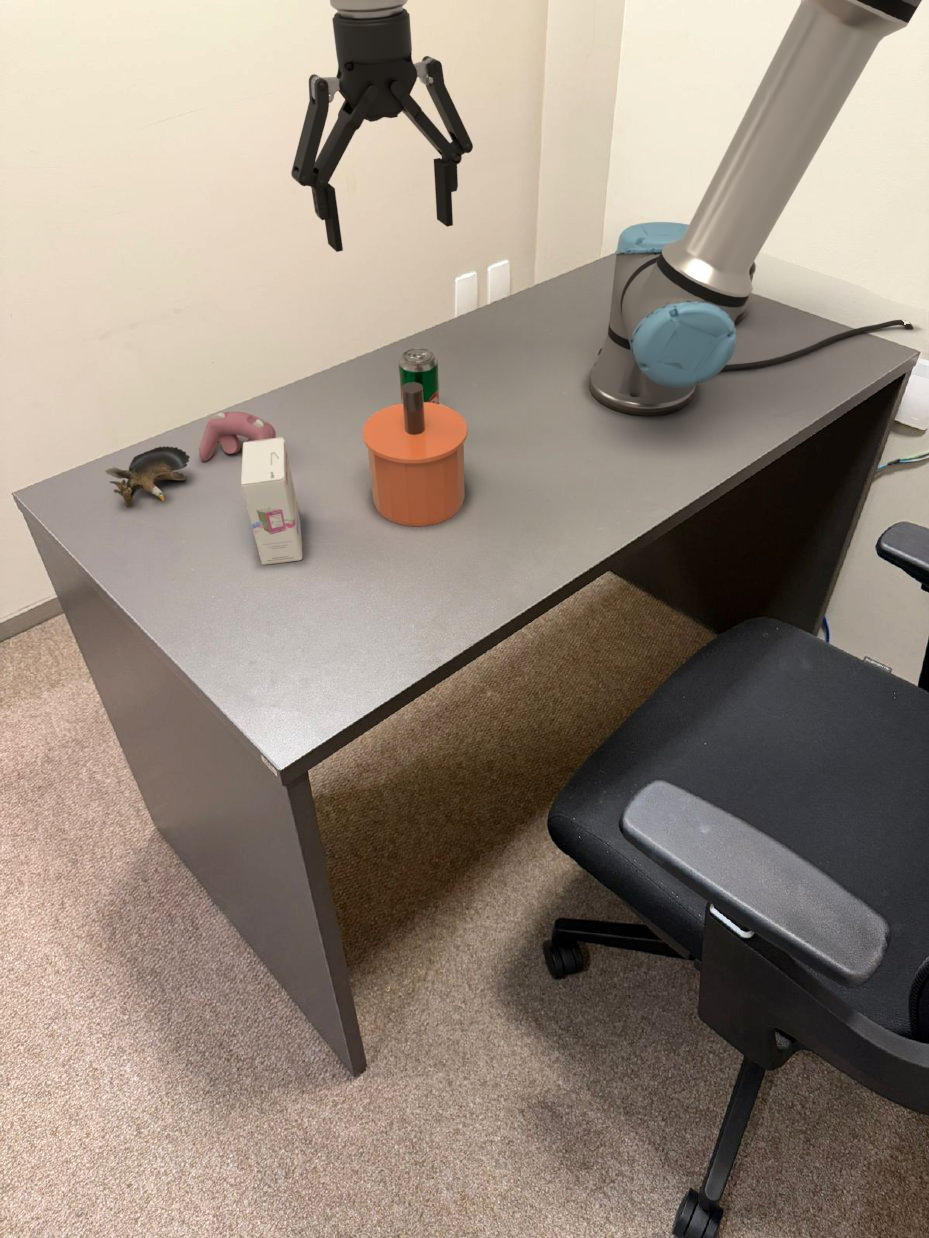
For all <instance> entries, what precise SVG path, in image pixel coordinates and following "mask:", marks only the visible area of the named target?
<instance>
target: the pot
mask: <svg viewBox="0 0 929 1238" xmlns="http://www.w3.org/2000/svg"><path fill="white" fill-rule="evenodd" d="M464 444H465V443H464ZM464 444H463V445H462V446H461V447H460V448H459V449H458V450H457V451H455V452H454V453H452V454H451V455H449V456H447V457H444V458H442V459H439V460H435V461H431V462H425V463H399V462H394V461H389V460H386V459H383V458H381V457H379V456H377V455H375V454H374V453H372V452H371V451H370V450H369V449H368V448H367V454H368V462H369V463H368V464H369V471H370V472H369V474H370V482H371V490H372V501H373V503H374V507H375V509H376V511H377V512H378V513H379V514H380V515H381V516H382V517H383V518H384V519H386V520H388V521H390V522H391V523H395V524H398V525H402V526H407V527H426V526H431V525H436V524H440V523H442V522H445V521H447V520H449V519H450V518H452V517H453V516H455V515H456V514H457V513H458V512H459V511H460V509H461V508H462V506H463V504H464V501H465V452H464V451H465V445H464Z"/></svg>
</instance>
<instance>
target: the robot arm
mask: <svg viewBox="0 0 929 1238" xmlns="http://www.w3.org/2000/svg"><path fill="white" fill-rule="evenodd" d="M408 1H409V0H329V4H330V6H331V7H332V8H333V9H334V10H336V11H337V12H336V13H334V15H333V17H332V26H333V28H332V29H333V37H334V45H335V53H336V60H337V73H336V76H323V77H322V76H319V75H318V74H316V73H314V74H311V75H310V76H309V77H308V97H309V101H308V105H307V109H306V113H305V116H304V121H303V124H302V129H301V132H300V137H299V141H298V145H297V149H296V153H295V157H294V160H293V164H292V168H291V178H293V180H294V181H295V182H297V183H298V184H299V185H300V186H301V187H310V188H311V194H312V201H313V208H314V212H315V213H314V214H316V217H317V218H319V219H320V220H321V221H324V224H325V232H326V239H327V245H329V246H330V248H332V250H334V251H335V253H338V252H339V253H340V252H343V251H344V247H343V239H342V232H341V226H340V224H341V223H340V216H339V211H338V210H339V209H338V203H337V194H336V188H335V187H334V186H333V185H331V184H330V183H329V182H330V180H331V178H332V177H333V175H334V173H335V171H336V169H337V167H338V165H339V164H340V162H341V159H342V158H343V156H344V154H345V152H346V150H347V148H348V146H349V145H350V142H352V141H351V140H352V138H353V137H354V135H355V133H356V131H357V130H359V129H360V128H361V126H362V124H363V122H364V121H368V122H370V123H373V122H377V121H380V120H382V119H383V118H388V119H394V118H398V117H399V114H401V113H403V114H404V115H405V116H406V117H407V118H408V120H409V121H410V122H411V123H412V124H413V125H414V127H415V128H416V129H417V130H418V131H419V132H420V134H422V135H423V137H424V138H425V139H426V140H427V142H429V144H430V145H431V146H432V147H433V148H434V149H435V150H436V152H437V153H438V154H439V156H441V157H438V158H433V173H434V190H435V192H434V193H435V207H436V209H435V210H436V220H437V221H438V222H440V223H441V224H443V225H444V226H445V227H451V226H454V217H453V196H452V195H453V192H454V193H455V192H457V191H458V187H459V179H458V165H459V164H460V163H461V162H462V159H463V157H462V156H463V155H464V154H470V153H471V152H472V151H473V149H474V145H473V142H472V140H471V138H470V135H469V134H468V131H467V129H466V127H465V124H464V123H463V120H462V119H461V116H460V114H459V112H458V110H457V107H456V106H455V104H454V101H453V99H452V97H451V94H450V93H449V91H448V88H447V87H446V84H445V78H444V71H443V65H442V62H441V61H440V60H438V59H436V58H434V57H431V56H429V55H425V56H424V57H423V58H422V59H421V61H419V62H416V63H414V61H413V57H412V51H413V44H412V30H411V29H412V28H411V17H410V13H409V12H408V10H407V9H406V8H404V6H405V5H407V3H408ZM922 1H923V0H800V4H799V5H798V7H797V10H796V11H795V14H794V15H793V18H792V19H791V22H790V24H789V25H788V27H787V30H786V31H785V34H784V35H783V37H782V40H781V41H780V43H779V45H778V47H777V49H776V51H775V53H774V55H773V57H772V60H771V61H770V63H769V65H768V67H767V69H766V71H765V73H764V75H763V77H762V79H761V81H760V83H759V85H758V87H757V89H756V91H755V93H754V95H753V97H752V99H751V101H750V103H749V105H748V107H747V109H746V111H745V113H744V115H743V117H742V119H741V121H740V123H739V125H738V127H737V129H736V131H735V133H734V135H733V136H732V139H731V140H730V142H729V145H728V146H727V148H726V151H725V152H724V155H723V157H722V159H721V161H720V162H719V165H718V167H717V169H716V171H715V173H714V174H713V176H712V179H711V180H710V182H709V184H708V186H707V188H706V190H705V192H704V194H703V196H702V199H701V201H700V203H699V204H698V206H697V208H696V210H695V213H694V215H693V216H692V218H691V220H690V222H689V224H687V223H681V222H674V221H673V222H671V221H670V222H669V221H652V222H643V223H642V222H641V223H638V224H633V225H630V226H628V227H626V228H625V229H623V230H622V231H621V233H620V235H619V237H618V241H617V247H616V250H615V251H614V255H615V263H614V273H613V281H612V282H613V283H612V290H611V291H612V292H611V301H610V308H609V309H610V310H609V311H610V312H609V319H608V328H607V336H606V338H605V340H604V343H603V345H602V347H600V348H599V350H598V353H597V356H598V358H597V360H596V361H595V362H594V365H592V368H591V370H590V376H589V390H590V393H591V394H592V396H593V397H594V398H595V399H596V400H597V401H598V402H599V403H600V404H602V405H604V406H606V407H608V408H610V409H611V410H615V411H617V412H620V413H624V414H629V415H636V416H660V415H667V414H671V413H674V412H677V411H679V410H681V409H683V408H685V407H686V406H687V405H689V404H690V403H691V402H692V400H693V398H694V396H695V390H696V387H697V384H699V383H700V384H701V383H705V382H707V381H709V380H710V379H712V378H714V377H715V376H717V375H718V374H719V373H720V372H723V371H737V370H739V371H740V370H749V369H755V368H762V367H767V366H772V365H776V364H780V363H784V362H787V361H790V360H793V359H796V358H798V357H802V356H805V355H807V354H810V353H812V352H815V351H817V350H818V349H819V350H820V349H821V348H823V347H825V346H827V345H829V344H831V343H835V342H836V341H837V342H838V341H840V340H842V339H845V338H848V337H853V336H855V335H858V334H863V333H868V332H873V331H878V330H882V329H887V328H890V327H896V326H902V327H904V328H906V329H907V330H908V331H912V330H913V331H914V330H915V328H914V326H913V325H912V323H910V324H906V325H904V322H903V321H902V320H903V319H894V320H889V321H884V322H881V323H877V324H871V325H866V326H862V327H861V326H860V327H858V328H854V329H853V328H852V329H850V330H847V331H844V332H841V333H838V334H835V335H832V336H830V337H828V338H825V339H823V340H821V341H818V342H816V343H814V344H812V345H810V346H808V347H805V348H802V349H799V350H796V351H795V352H794V351H793V352H790V353H787V354H785V355H784V354H783V355H781V356H778V357H774V358H770V359H765V360H759V361H752V362H745V363H743V362H742V363H733V364H732V363H731V364H728V363H729V362H730V360H731V358H732V357H733V354H734V352H735V349H736V343H737V328H736V325H735V323H734V322H735V320H736V318H737V316H738V315H739V313H740V311H741V309H742V308H743V306H744V304H745V303H746V301H747V299H748V300H749V297H750V295H751V294H752V292H753V289H754V288H753V284H752V283H753V282H752V283H751V279H750V275H749V270H750V267H751V266H752V264H753V262H755V261H756V258H757V257H758V255H759V253H760V252H761V250H762V248H763V246H764V245H765V243H766V241H767V240H768V238H769V236H770V234H771V232H772V231H773V229H774V227H775V225H776V224H777V222H778V220H779V219H780V217H781V215H782V213H783V211H784V210H785V208H786V206H787V205H788V203H789V201H790V199H791V197H792V196H793V194H794V192H795V190H796V189H797V187H798V185H799V183H800V182H801V180H802V178H803V177H804V175H805V173H806V171H807V170H808V167H809V166H810V164H811V162H812V160H813V159H814V157H815V155H816V154H817V152H818V150H819V149H820V146H821V145H822V143H823V141H824V140H825V138H826V136H827V135H828V133H829V131H830V129H831V127H832V126H833V124H834V122H835V120H836V119H837V117H838V114H839V113H840V111H841V110H842V108H843V107H844V104H845V103H846V101H847V99H848V97H849V96H850V94H851V92H852V91H853V89H854V87H855V86H856V83H857V82H858V80H859V79H860V76H861V75H862V73H863V72H864V69H865V68H866V66H867V64H868V63H869V61H870V59H871V57H872V56H873V54H874V52H875V50H876V48H877V47H878V45H879V43H880V42H881V41H883V39H884V38H885V37H887V36H889V35H891V34H894V33H896V32H898V31H900V30H903V29H904V28H906V27H907V26H908V25H909V24H910V21H912V18H913V17H914V14H915V13H916V11H917V9H918V8H919V7H920V5H921V3H922ZM417 79H418V80H419V81H420V83H421V84H423V85H424V86H425V87H426V90H427V92H428V94H429V97H430V98H431V101H432V103H433V105H434V106H435V109H436V111H437V113H438V115H439V117H440V119H441V122H442V123H443V125H444V127H445V129H446V132H447V133H448V135H449V137H450V140H451V141H449V140H448V139H447V138H446V137H445V135H444V134H443V133H442V131H441V130H440V129H439V128H438V127H437V126H436V125H435V124H434V122H433V121H432V120H431V119H430V118H429V116H428V115H427V114H426V113H425V112H424V110H423V109H422V107H421V106H420V105H419V103H418V102H417V101H416V100H415V99H414V97H412V95H411V93H412V91H413V88H414V86H415V84H416V82H417ZM337 92H339V94H340V95H341V97H342V98H343V99H344V101H343V102H342V104H341V107H340V109H339V110H338V113H337V119H336V121H335V122H334V125H333V127H332V129H331V130H330V132H329V135H328V136H327V138H326V140H325V142H324V144H323V146H322V148H321V150H320V149H319V148H320V145H321V142H322V138H323V135H324V131H325V130H324V129H325V126H326V122H327V119H328V115H329V109H330V104H331V103H332V102H333V101H334V98H335V94H336V93H337ZM319 150H320V152H319ZM318 152H319V154H318ZM747 302H748V301H747Z"/></svg>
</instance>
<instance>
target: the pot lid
mask: <svg viewBox="0 0 929 1238" xmlns="http://www.w3.org/2000/svg"><path fill="white" fill-rule="evenodd" d="M402 397H403V403H397V404H393V405H390V406H387V407H385V408H381V409H380V410H378V411H376V412H375V413H373V414H372V415H371V416H370V417H369V418H368V419H367V420H366V422H365V423H364V425H363V427H362V440H363V444H364V445H365V447H366V448H367V450H368V449H369V450H370V451H371V452H372V453H374V454H375V455H377V456H379V457H381V458H383V459H386V460H389V461H394V462H399V463H425V462H431V461H435V460H439V459H442V458H444V457H447V456H449V455H451V454H452V453H454V452H455V451H457V450H458V449H459V448H460V447H461V446H462V445H463V444H465V443H466V441H467V438H468V424H467V422H466V420H465V419H464V417H463V416H462V415H461V414H460V413H459V412H457V411H456V410H454V409H453V408H451V407H448V406H446V405H443V404H440V403H439V404H435V403H428V402H424V398H423V386H422V385H421V384H419V383H415V382H411V383H407V384H404V385H403V386H402Z"/></svg>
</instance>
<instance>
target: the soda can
mask: <svg viewBox="0 0 929 1238" xmlns="http://www.w3.org/2000/svg"><path fill="white" fill-rule="evenodd" d="M398 373H399V386H400V387H399V388H400V401H401V403H403V397H402V386H403V385H404V384H407V383H411V382H415V383H419V384H421V385H422V386H423V398H424V402H428V403H435V404H439V405H440V385H439V362H438V359H437V358H436V356H435V352H434V351H433V350H431V349H430V348H425V347H412V348H409V349H406V350H405V351H403V352H402V353H401V355H400V360H399V362H398ZM401 403H400V404H401Z"/></svg>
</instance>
